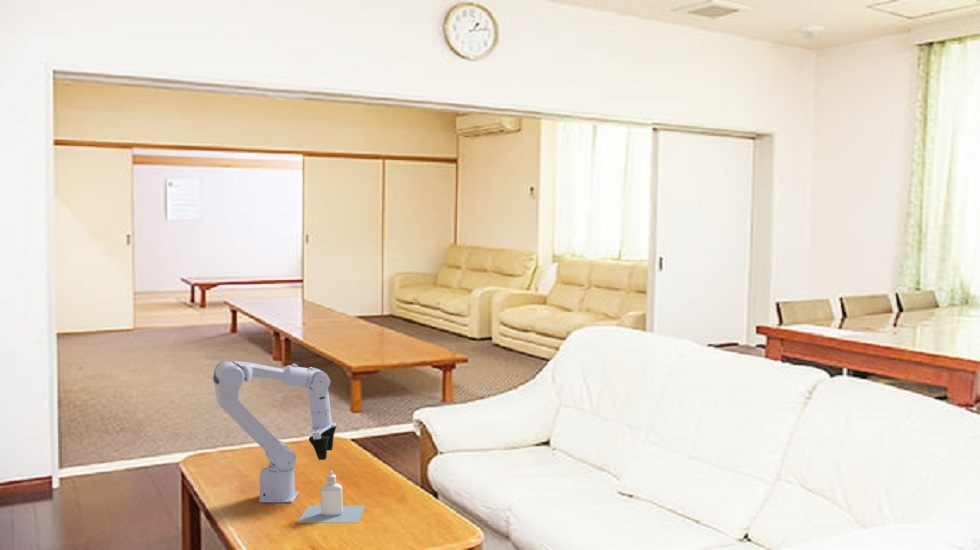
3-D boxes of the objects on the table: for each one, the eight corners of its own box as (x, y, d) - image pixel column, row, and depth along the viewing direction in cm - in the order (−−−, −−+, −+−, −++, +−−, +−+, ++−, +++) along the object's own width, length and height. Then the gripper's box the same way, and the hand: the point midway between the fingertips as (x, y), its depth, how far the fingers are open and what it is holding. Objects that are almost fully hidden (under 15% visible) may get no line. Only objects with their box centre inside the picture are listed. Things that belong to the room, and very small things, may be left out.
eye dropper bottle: (335, 518, 218) (334, 474, 217) (318, 514, 220) (317, 471, 219) (345, 512, 222) (344, 469, 221) (328, 509, 224) (327, 467, 223)
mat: (297, 522, 215) (297, 522, 215) (308, 505, 227) (308, 505, 227) (358, 522, 215) (358, 522, 215) (365, 506, 227) (365, 505, 227)
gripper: (328, 416, 230) (333, 462, 232) (339, 401, 244) (344, 445, 246) (303, 418, 230) (308, 464, 232) (316, 403, 244) (321, 446, 246)
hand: (325, 454), depth 239 cm, fingers open, 7 cm apart
